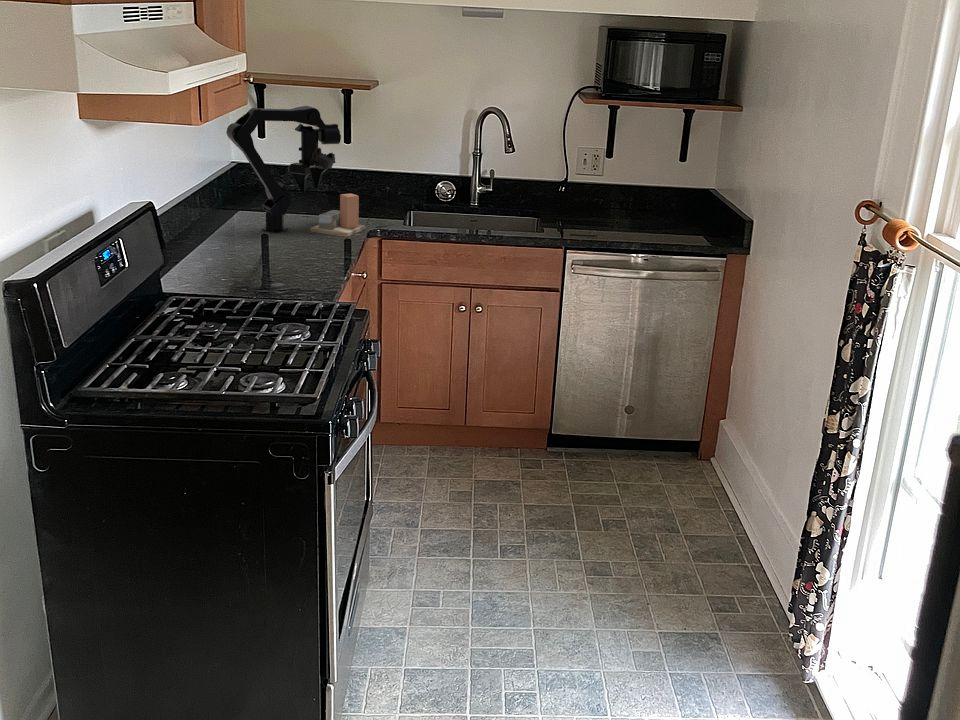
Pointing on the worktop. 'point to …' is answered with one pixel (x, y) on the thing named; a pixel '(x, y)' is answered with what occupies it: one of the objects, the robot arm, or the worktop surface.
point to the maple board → (338, 230)
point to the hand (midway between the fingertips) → (309, 190)
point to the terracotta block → (349, 210)
